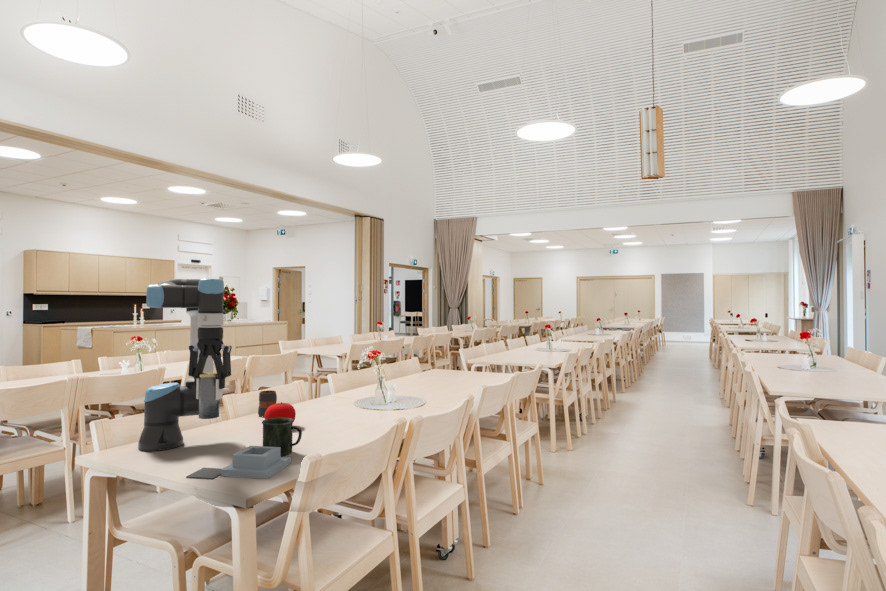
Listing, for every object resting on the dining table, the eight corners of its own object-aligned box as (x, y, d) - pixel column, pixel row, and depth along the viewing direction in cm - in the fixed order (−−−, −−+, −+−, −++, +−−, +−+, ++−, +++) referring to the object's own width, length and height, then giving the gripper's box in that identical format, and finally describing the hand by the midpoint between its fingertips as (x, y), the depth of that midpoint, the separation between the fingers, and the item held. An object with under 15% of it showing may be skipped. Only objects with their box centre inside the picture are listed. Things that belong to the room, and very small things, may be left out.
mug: (269, 448, 193) (269, 417, 193) (306, 450, 191) (306, 418, 192) (255, 457, 182) (256, 423, 182) (295, 458, 181) (295, 424, 181)
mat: (186, 477, 160) (186, 476, 160) (203, 468, 169) (203, 467, 169) (212, 479, 159) (212, 478, 159) (228, 470, 168) (228, 469, 168)
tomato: (288, 431, 220) (288, 405, 220) (259, 429, 222) (260, 404, 222) (300, 424, 232) (300, 400, 232) (273, 423, 234) (273, 399, 234)
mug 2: (283, 412, 257) (283, 389, 257) (270, 417, 245) (270, 393, 246) (268, 411, 259) (268, 388, 259) (254, 416, 247) (254, 392, 248)
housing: (220, 475, 162) (221, 456, 162) (247, 460, 178) (247, 443, 178) (268, 478, 160) (268, 459, 160) (290, 463, 176) (290, 445, 176)
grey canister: (194, 418, 162) (195, 374, 162) (206, 414, 168) (206, 371, 168) (212, 419, 161) (212, 374, 161) (222, 415, 167) (223, 372, 167)
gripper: (176, 326, 162) (174, 399, 162) (231, 327, 160) (230, 401, 159) (190, 325, 170) (189, 395, 169) (244, 326, 167) (243, 397, 167)
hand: (209, 398), depth 164 cm, fingers closed on grey canister, 6 cm apart
